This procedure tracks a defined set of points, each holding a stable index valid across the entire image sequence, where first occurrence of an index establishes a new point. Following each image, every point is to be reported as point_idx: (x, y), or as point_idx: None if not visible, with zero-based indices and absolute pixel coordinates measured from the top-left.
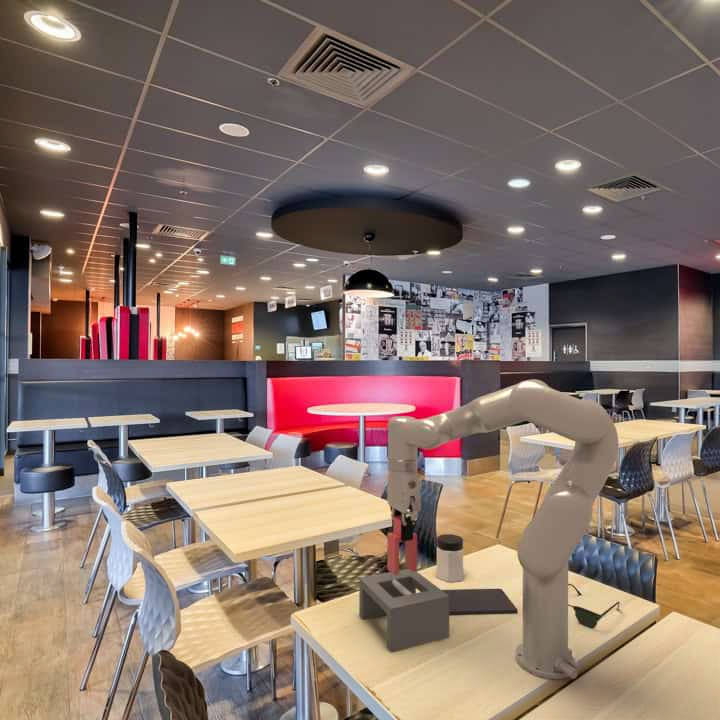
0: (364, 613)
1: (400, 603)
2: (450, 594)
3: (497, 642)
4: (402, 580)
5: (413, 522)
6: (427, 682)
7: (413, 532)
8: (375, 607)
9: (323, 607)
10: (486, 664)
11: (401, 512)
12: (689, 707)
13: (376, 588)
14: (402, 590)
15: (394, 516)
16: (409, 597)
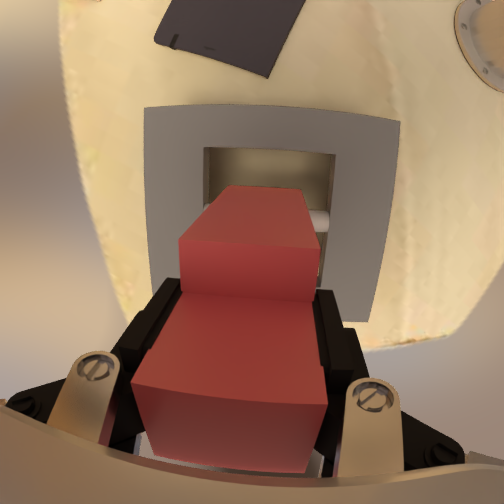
0: None
1: (360, 286)
2: (198, 5)
3: (423, 51)
4: (205, 181)
5: (397, 405)
6: (446, 260)
7: (256, 245)
8: None
9: (128, 305)
10: (466, 131)
11: (111, 416)
12: None
13: None
14: None
15: (153, 449)
16: (344, 242)
